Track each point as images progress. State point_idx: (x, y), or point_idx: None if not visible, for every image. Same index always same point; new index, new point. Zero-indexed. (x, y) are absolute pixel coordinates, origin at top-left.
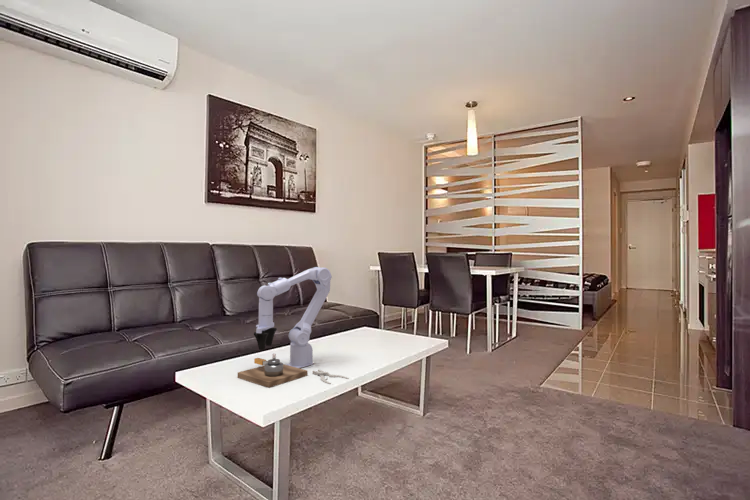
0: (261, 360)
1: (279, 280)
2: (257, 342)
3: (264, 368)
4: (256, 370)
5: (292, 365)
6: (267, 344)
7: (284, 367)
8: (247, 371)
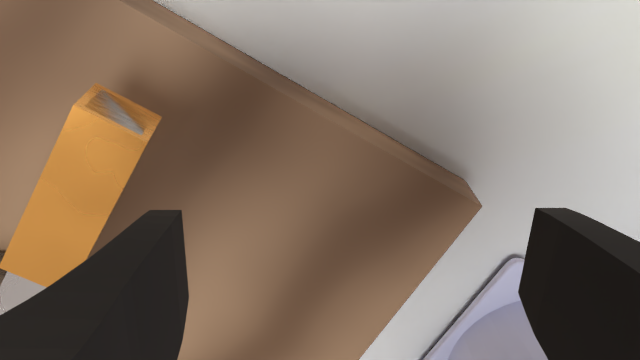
0: (8, 251)
1: None
2: (54, 284)
3: (196, 167)
4: None
5: (462, 340)
6: (539, 245)
7: (279, 347)
8: (1, 6)
